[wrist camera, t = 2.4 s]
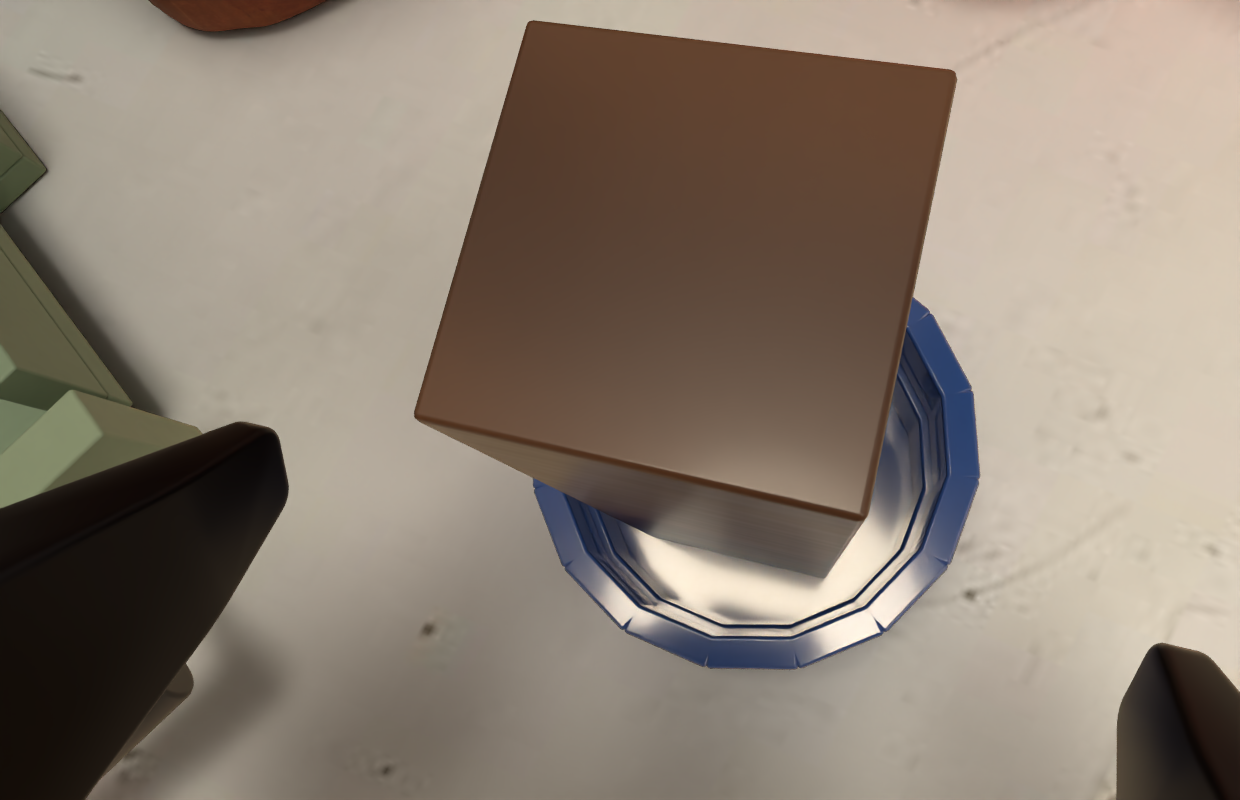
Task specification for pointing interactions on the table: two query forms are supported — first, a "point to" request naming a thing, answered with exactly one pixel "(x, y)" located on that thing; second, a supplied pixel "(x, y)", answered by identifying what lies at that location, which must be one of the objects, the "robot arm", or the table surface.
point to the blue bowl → (783, 599)
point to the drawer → (66, 415)
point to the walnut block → (693, 284)
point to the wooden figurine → (232, 12)
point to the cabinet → (15, 164)
